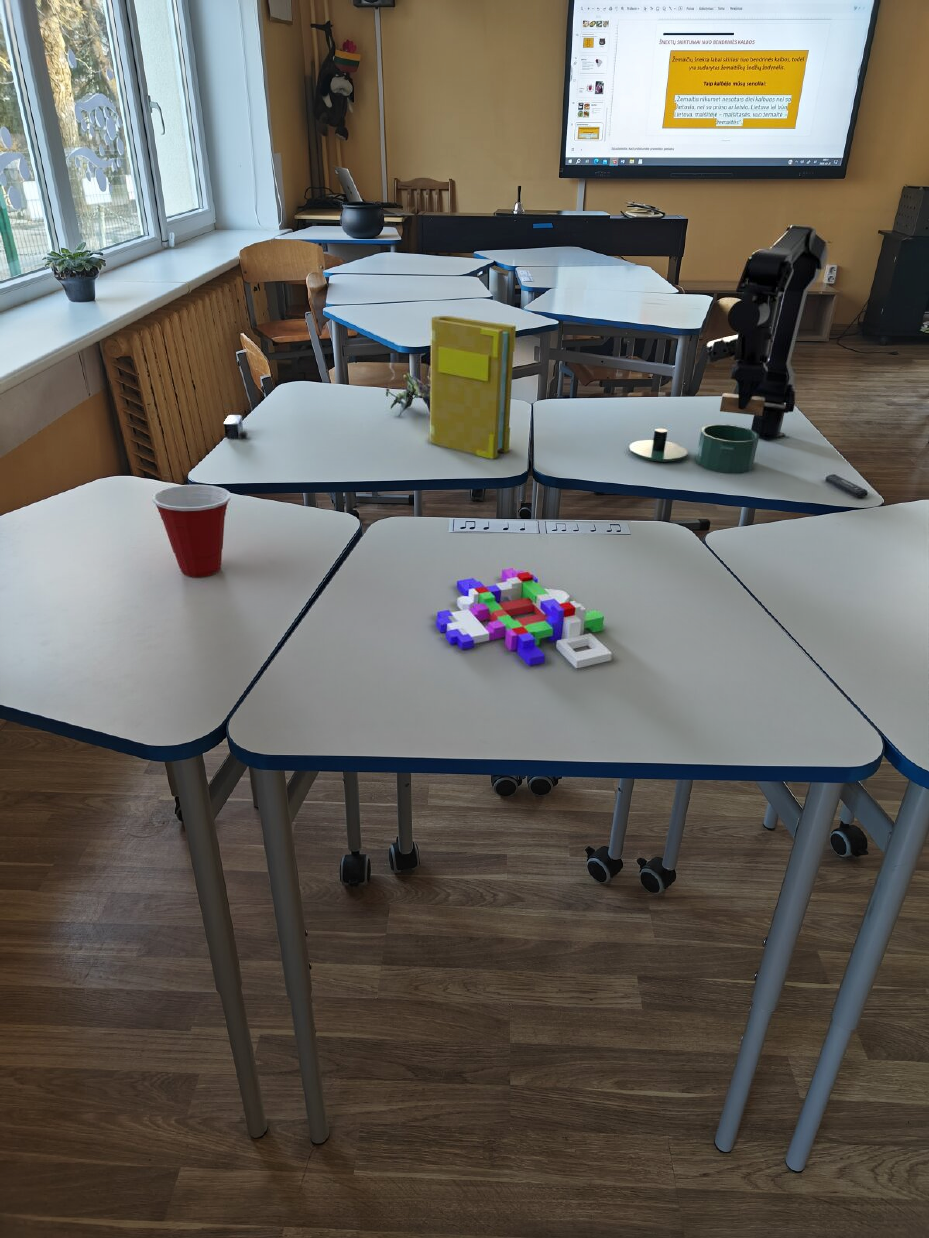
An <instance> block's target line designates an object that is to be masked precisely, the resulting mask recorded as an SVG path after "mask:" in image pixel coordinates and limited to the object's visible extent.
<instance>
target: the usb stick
mask: <svg viewBox="0 0 929 1238" xmlns="http://www.w3.org/2000/svg"><path fill="white" fill-rule="evenodd" d="M825 482H827V483H829V484H830V485H832V486H834V487H836V488H839V489H840V490H842V491H844V492H847V493H849V495H852V496H854V497H856V498H859V499H861V498H866V497H867V496H868V494H869V492H868V490H867V489H865V488H864V487H861V486H859V485H857V484H855V483H853V482H851V481H849V480H848V479H845V478H843V477H841V476H839V475H837V474H835V473H832V474H829V475H827V476H826V477H825Z"/></svg>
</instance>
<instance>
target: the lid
mask: <svg viewBox="0 0 929 1238" xmlns="http://www.w3.org/2000/svg"><path fill="white" fill-rule="evenodd" d="M667 437H668V430H667V429H665V428H655V429H654V432H653V439H643V440H636V441H633V442H631V443H630V445H629V447H628V451H629V452H630V453H631V454H632V455H634V456H635V457H638V458H641V459H644V460H649V461H653V462H676V461H681V460H684V459H686V458H687V456H688V454H689V452H688V449H687V448H686V447H684V446H682V445H681V444H678V443H675V442H671V441H667Z"/></svg>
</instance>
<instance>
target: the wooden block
mask: <svg viewBox="0 0 929 1238" xmlns="http://www.w3.org/2000/svg"><path fill="white" fill-rule="evenodd" d="M764 403H765V397H756V396H752V398H751V400H750V401H749V403H748V404H747V406H746V407H745V409H739V398H738V394H737V393H736V394H735V393H727V392H723V393H722V395H721V402H720V406H719V412H723V413H731V414H741V415H749V416H754V415H758V416H762V412H763V407H764Z"/></svg>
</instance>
